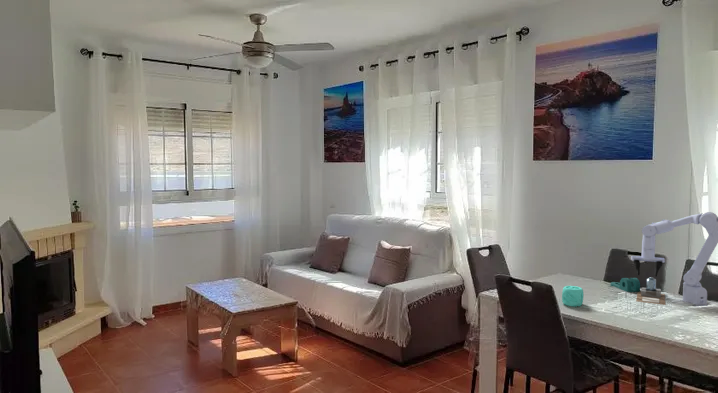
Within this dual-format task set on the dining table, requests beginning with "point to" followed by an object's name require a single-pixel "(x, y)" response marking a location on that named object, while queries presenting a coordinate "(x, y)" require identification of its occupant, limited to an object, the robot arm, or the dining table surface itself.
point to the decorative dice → (572, 296)
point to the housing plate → (662, 300)
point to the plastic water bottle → (651, 284)
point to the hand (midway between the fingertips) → (646, 275)
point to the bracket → (627, 284)
